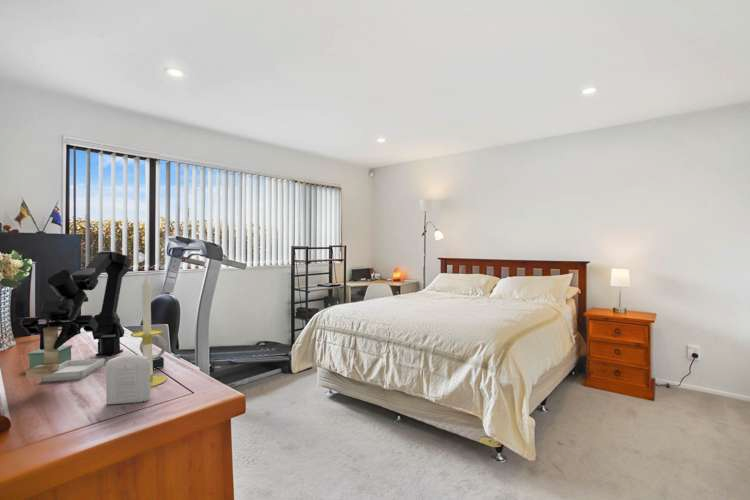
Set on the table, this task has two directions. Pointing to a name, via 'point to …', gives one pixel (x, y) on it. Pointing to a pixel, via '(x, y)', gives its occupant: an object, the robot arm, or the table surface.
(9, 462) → the table surface
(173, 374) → the table surface
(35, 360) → the green lidded box
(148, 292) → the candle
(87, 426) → the table surface
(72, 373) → the tray
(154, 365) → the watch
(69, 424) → the table surface
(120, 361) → the gravestone
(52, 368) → the tan cylinder with block
